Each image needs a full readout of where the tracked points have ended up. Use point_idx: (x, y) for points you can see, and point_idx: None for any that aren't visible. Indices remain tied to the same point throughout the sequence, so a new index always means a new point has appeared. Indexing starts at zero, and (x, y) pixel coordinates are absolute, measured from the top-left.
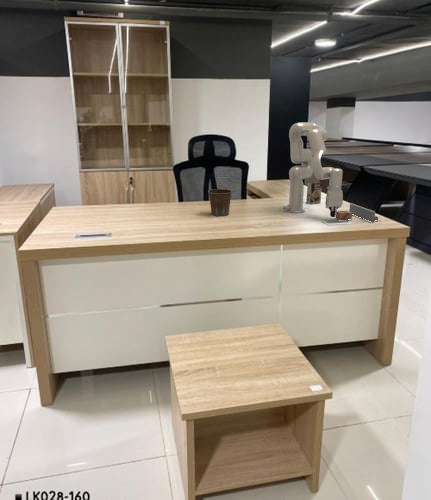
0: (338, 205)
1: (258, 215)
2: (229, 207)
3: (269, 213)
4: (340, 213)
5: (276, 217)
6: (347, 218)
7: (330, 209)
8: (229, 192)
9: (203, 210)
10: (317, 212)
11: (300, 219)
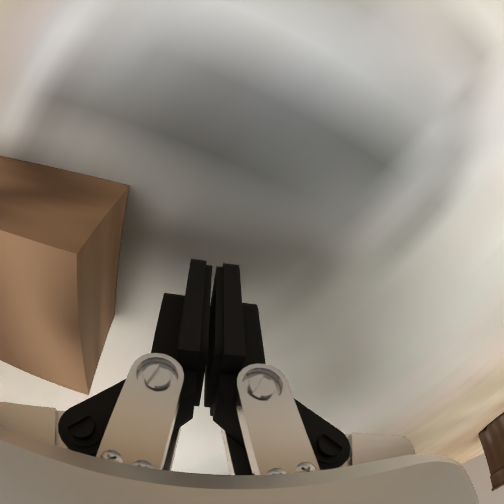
0: (77, 491)
1: (468, 419)
2: (502, 436)
3: (416, 444)
4: (72, 248)
5: (469, 398)
6: (6, 170)
7: (306, 412)
8: (498, 481)
9: (476, 442)
10: (176, 450)
11: (449, 357)
